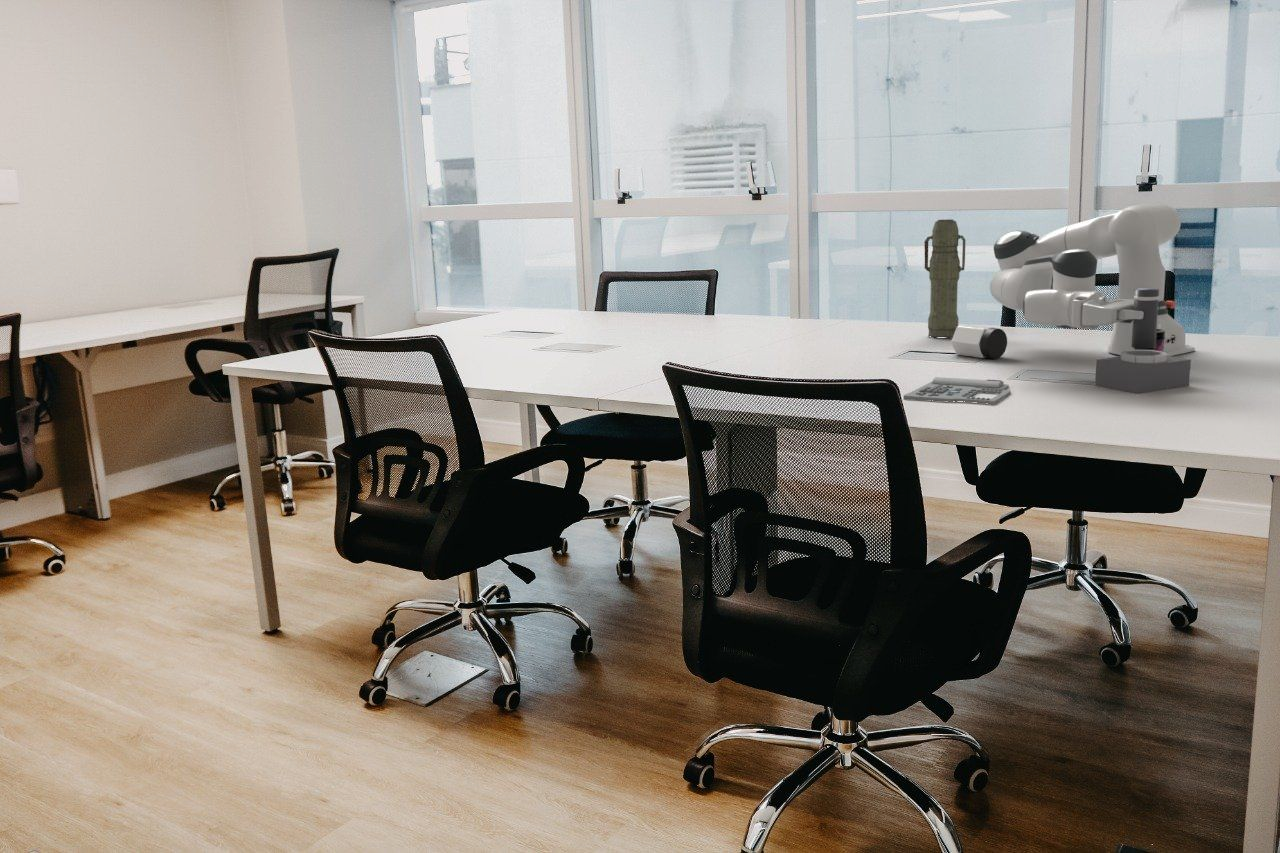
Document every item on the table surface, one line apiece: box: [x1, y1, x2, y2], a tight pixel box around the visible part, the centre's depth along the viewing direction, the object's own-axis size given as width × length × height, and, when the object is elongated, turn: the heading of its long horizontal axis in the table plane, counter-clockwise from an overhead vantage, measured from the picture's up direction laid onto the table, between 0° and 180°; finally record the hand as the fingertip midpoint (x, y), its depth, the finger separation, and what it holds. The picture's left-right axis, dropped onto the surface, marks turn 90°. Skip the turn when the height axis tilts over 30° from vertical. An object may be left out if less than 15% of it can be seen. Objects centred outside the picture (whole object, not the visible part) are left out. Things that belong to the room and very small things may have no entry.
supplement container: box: [1134, 329, 1165, 352], centre depth 264 cm, size 7×7×10 cm
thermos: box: [924, 219, 966, 338], centre depth 331 cm, size 9×12×35 cm
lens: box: [1131, 288, 1159, 349], centre depth 248 cm, size 5×5×13 cm
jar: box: [950, 324, 1008, 360], centre depth 296 cm, size 9×8×12 cm
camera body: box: [1094, 350, 1192, 394], centre depth 250 cm, size 16×12×8 cm
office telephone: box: [903, 376, 1012, 405], centre depth 251 cm, size 23×3×20 cm
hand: (1149, 313), depth 247 cm, fingers closed on lens, 5 cm apart
